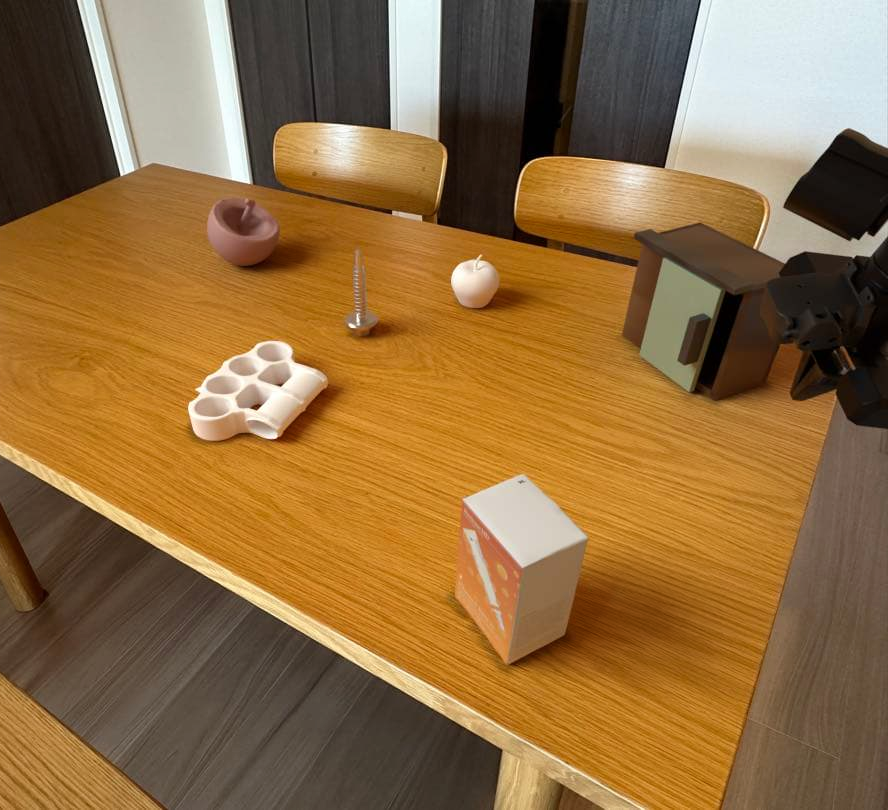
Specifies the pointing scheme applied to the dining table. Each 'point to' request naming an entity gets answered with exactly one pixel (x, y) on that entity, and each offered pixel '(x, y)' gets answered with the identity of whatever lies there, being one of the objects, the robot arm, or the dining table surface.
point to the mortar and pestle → (242, 231)
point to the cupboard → (739, 321)
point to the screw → (360, 301)
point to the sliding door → (681, 323)
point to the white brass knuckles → (255, 394)
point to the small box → (518, 566)
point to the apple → (475, 283)
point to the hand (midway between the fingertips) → (795, 397)
